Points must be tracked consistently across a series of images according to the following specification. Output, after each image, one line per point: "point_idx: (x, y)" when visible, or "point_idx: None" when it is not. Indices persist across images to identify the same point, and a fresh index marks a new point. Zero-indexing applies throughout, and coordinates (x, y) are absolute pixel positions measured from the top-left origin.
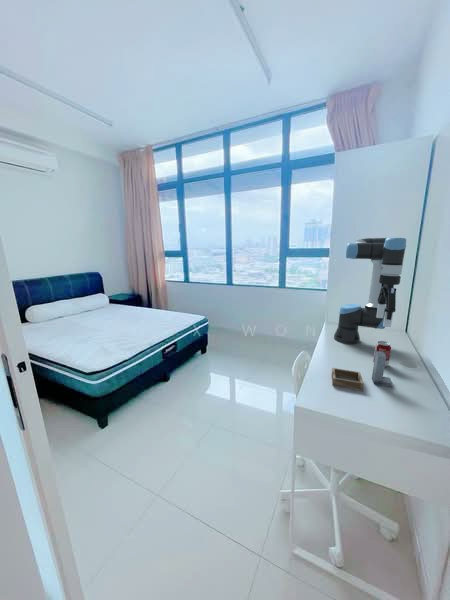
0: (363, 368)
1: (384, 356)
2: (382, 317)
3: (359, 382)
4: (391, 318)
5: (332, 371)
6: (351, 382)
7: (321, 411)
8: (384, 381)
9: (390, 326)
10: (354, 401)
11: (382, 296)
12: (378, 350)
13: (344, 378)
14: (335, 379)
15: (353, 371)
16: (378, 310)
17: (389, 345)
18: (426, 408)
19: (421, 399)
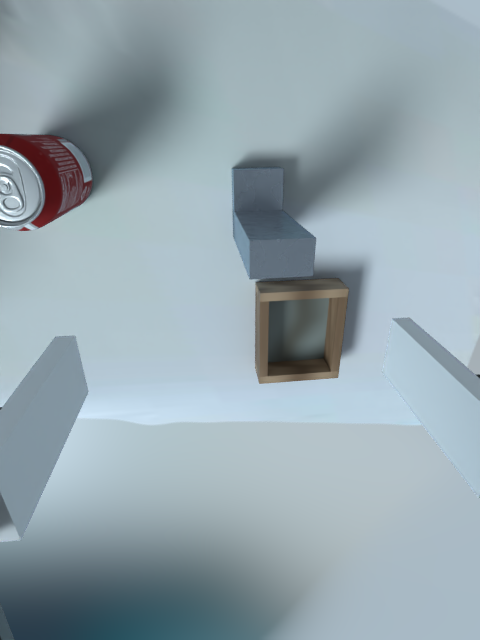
0: (150, 258)
1: (314, 246)
2: (74, 348)
3: (343, 301)
4: (465, 373)
5: (286, 381)
6: (342, 324)
7: None
8: (278, 200)
9: (410, 323)
10: (404, 305)
11: None
12: (61, 213)
13: (276, 331)
14: (337, 369)
15: (262, 316)
16: (56, 449)
17: (22, 154)
18: (402, 65)
19: (341, 62)
